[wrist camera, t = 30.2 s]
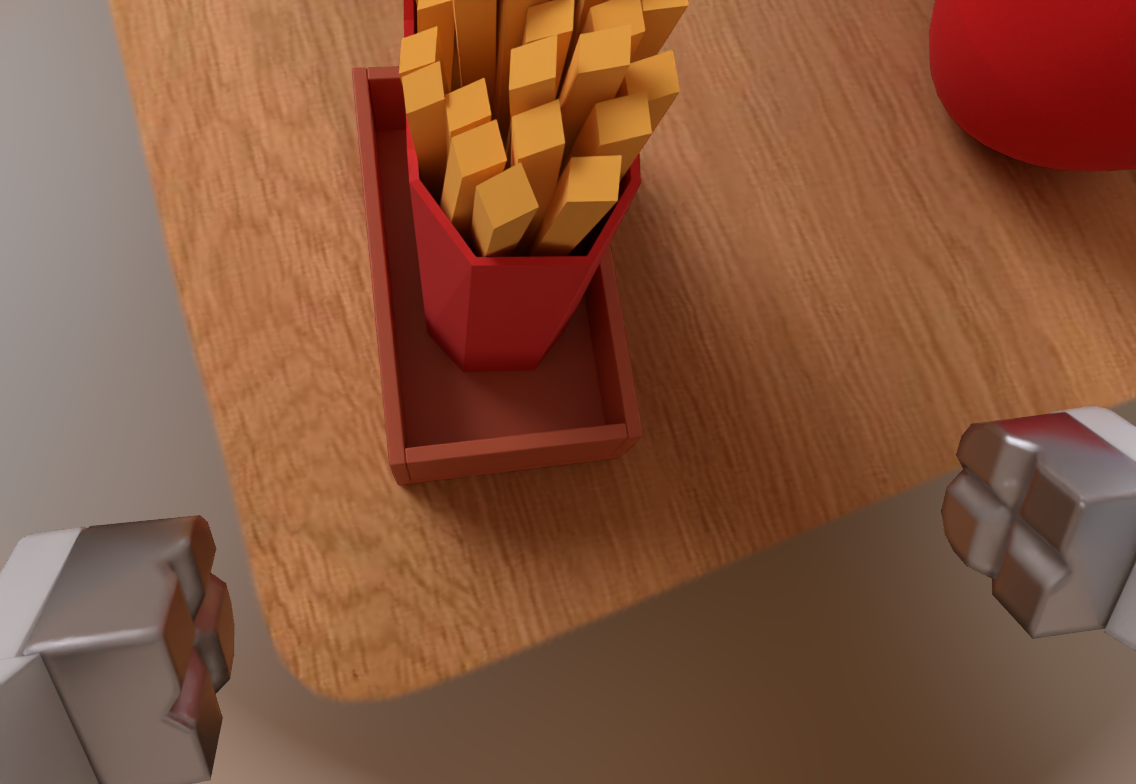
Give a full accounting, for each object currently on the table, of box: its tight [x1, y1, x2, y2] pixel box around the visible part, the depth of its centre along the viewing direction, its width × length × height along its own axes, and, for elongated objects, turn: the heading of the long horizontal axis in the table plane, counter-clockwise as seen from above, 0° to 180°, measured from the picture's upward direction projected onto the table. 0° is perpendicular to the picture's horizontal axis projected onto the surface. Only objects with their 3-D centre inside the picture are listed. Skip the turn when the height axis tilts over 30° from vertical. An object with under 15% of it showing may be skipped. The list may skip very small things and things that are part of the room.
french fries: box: [399, 0, 689, 372], centre depth 18 cm, size 9×4×13 cm, turn 4°
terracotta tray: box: [352, 66, 643, 485], centre depth 23 cm, size 6×11×3 cm, turn 9°
